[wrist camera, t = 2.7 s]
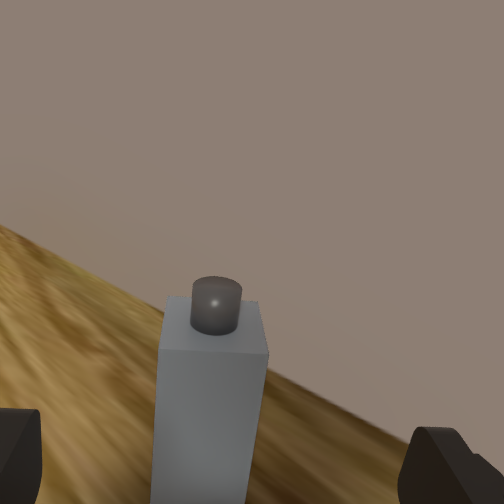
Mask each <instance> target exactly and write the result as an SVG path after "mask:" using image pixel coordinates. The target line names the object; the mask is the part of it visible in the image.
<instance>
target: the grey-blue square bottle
mask: <svg viewBox="0 0 504 504" xmlns="http://www.w3.org/2000/svg"><path fill="white" fill-rule="evenodd" d="M241 295H242V287H241V286H240V284H239V283H237V282H236V281H234V280H231V279H228V278H224V277H218V276H209V277H203V278H200V279H198V280H196V281H195V282H194V283H193V290H192V297H178V296H168V297H167V302H166V308H165V314H164V320H163V326H162V331H161V337H160V343H159V349H158V367H157V386H156V404H155V422H154V441H153V459H152V478H151V496H150V504H245V498H246V492H247V486H248V480H249V474H250V468H251V462H252V456H253V450H254V444H255V437H256V431H257V425H258V419H259V413H260V407H261V401H262V395H263V389H264V383H265V376H266V370H267V364H268V358H269V352H268V347H267V343H266V338H265V333H264V328H263V324H262V319H261V314H260V310H259V305H258V302H255V301H241Z"/></svg>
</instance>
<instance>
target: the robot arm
mask: <svg viewBox="0 0 504 504" xmlns="http://www.w3.org/2000/svg"><path fill="white" fill-rule="evenodd" d="M41 477H42V445H41V421H40V413H39V411H38V410H37V409H14V408H0V504H35V501H36V498H37V495H38V491H39V487H40V483H41ZM398 497H399V502H400V504H504V477H503V475H502V474H501V473H500V472H499V471H498V470H497V469H495V468H494V467H493V466H492V465H491V464H490V463H489V462H487V461H486V460H485V459H484V458H483V457H481V456H480V455H479V454H473V453H472V451H471V450H470V449H469V447H468V446H467V444H466V443H465V441H464V440H463V439H462V437H461V436H460V434H459V433H458V432H457V431H456V430H454V429H453V428H442V427H417V428H416V429H415V431H414V433H413V435H412V438H411V441H410V444H409V447H408V450H407V453H406V456H405V459H404V462H403V465H402V468H401V471H400V474H399V477H398Z"/></svg>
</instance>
